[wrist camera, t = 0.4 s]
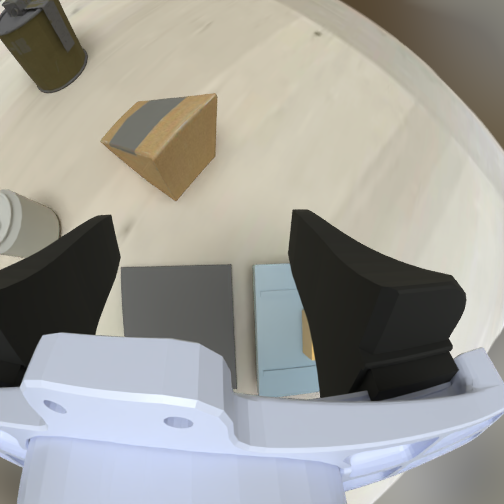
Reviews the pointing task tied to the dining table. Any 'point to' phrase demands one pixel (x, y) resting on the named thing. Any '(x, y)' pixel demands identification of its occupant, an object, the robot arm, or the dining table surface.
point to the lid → (281, 335)
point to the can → (25, 225)
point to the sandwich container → (167, 140)
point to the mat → (181, 306)
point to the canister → (42, 42)
